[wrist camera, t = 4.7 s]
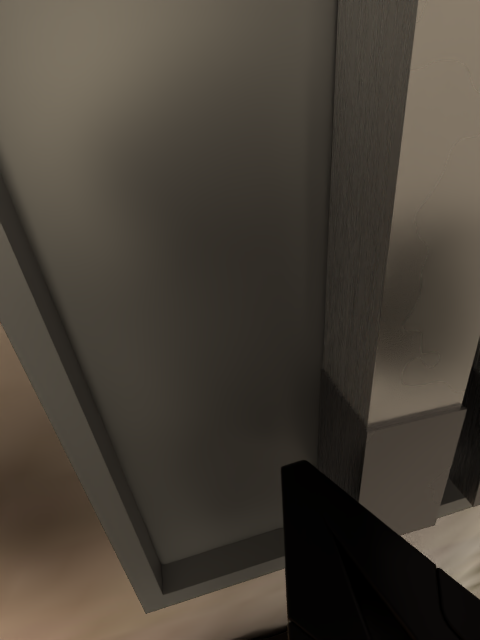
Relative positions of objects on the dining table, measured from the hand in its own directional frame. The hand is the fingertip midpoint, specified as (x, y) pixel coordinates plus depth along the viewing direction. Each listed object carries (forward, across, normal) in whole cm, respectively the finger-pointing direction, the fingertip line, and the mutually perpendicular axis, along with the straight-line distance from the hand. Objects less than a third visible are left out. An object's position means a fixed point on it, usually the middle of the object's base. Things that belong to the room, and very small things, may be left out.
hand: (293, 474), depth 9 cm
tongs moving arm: (+1, -2, -4) cm, 5 cm away
